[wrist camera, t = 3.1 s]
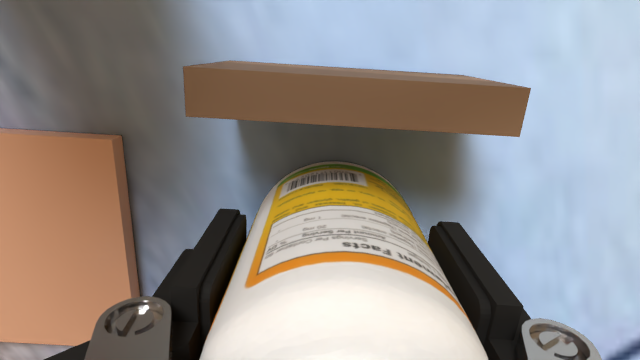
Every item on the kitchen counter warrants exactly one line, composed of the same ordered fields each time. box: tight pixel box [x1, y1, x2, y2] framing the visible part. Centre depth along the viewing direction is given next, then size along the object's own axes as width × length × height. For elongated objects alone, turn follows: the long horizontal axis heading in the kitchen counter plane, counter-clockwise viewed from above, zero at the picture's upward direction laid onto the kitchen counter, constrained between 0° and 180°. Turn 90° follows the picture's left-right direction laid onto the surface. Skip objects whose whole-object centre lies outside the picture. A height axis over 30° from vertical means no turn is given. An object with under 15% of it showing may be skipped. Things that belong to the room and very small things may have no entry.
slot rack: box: [183, 61, 531, 137], centre depth 11 cm, size 11×7×4 cm, turn 176°
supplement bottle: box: [199, 161, 488, 360], centre depth 9 cm, size 5×5×10 cm
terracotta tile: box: [0, 128, 140, 346], centre depth 13 cm, size 8×8×1 cm
